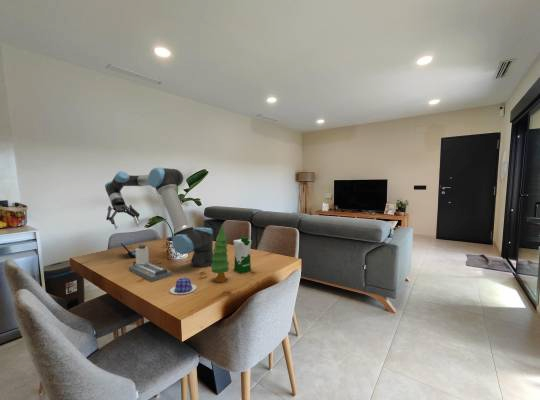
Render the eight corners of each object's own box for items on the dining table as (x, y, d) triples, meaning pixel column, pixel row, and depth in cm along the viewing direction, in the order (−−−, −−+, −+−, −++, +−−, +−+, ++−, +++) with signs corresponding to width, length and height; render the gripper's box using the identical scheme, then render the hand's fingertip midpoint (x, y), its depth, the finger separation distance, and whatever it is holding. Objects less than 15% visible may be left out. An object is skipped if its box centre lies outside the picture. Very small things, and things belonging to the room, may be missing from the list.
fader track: (129, 270, 144) (128, 262, 144) (147, 265, 153) (147, 258, 153) (152, 281, 127) (151, 273, 127) (171, 275, 136) (171, 268, 135)
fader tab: (135, 265, 145) (134, 245, 144) (145, 263, 149) (145, 243, 149) (139, 267, 142) (138, 246, 141) (149, 264, 146) (149, 245, 146)
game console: (147, 256, 174) (146, 243, 173) (125, 260, 165) (124, 246, 164) (141, 251, 186) (141, 239, 185) (120, 255, 177) (120, 242, 176)
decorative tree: (232, 279, 130) (232, 223, 128) (218, 285, 123) (217, 225, 121) (221, 275, 136) (220, 221, 135) (206, 280, 129) (206, 223, 128)
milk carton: (241, 274, 138) (241, 239, 137) (231, 270, 144) (231, 236, 143) (253, 270, 144) (253, 237, 143) (243, 267, 151) (243, 234, 149)
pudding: (199, 285, 124) (199, 274, 124) (192, 295, 112) (192, 284, 112) (175, 285, 124) (174, 275, 123) (165, 296, 112) (165, 284, 111)
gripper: (134, 203, 176) (145, 227, 168) (94, 205, 157) (104, 232, 149) (137, 196, 172) (148, 220, 164) (97, 197, 154) (107, 224, 145)
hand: (127, 226), depth 156 cm, fingers open, 12 cm apart
